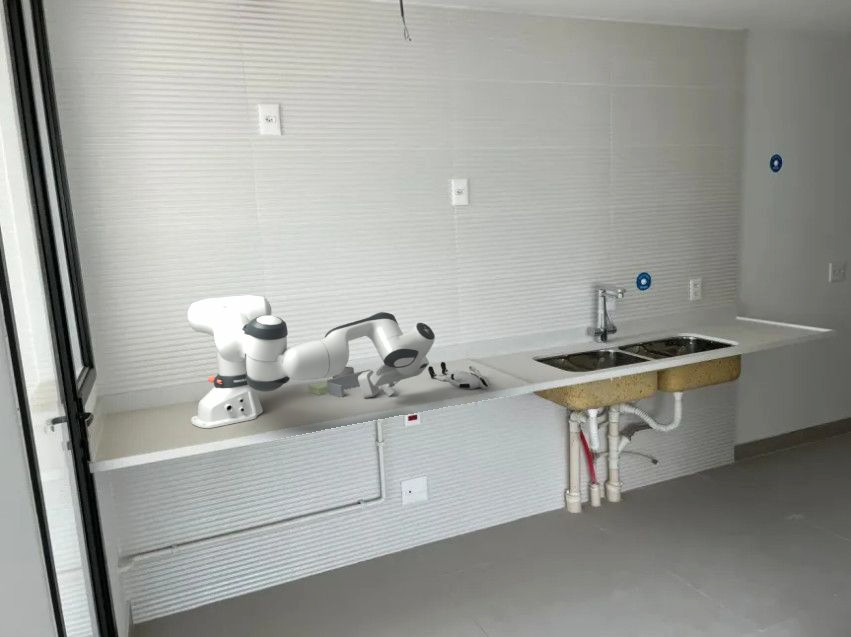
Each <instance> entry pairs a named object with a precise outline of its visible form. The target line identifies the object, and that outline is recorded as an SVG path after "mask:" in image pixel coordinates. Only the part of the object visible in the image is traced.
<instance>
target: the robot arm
mask: <svg viewBox="0 0 851 637" xmlns="http://www.w3.org/2000/svg"><path fill="white" fill-rule="evenodd" d="M272 313H273V312H272V307H271V304H270V302H269V300H268V299H266V297H265V296H262V295H253V294H246V295H245V294H244V295H237V296H236V295H233V296H224V297H213V298H212V297H211V298H204V299H201V300H199V301H195V302H193V303H192V304H191V305H190V307H189V308H188V310H187V321H188V324H189V326H190V327H191V329H192V330H194V332H196V333H203V334H207V335H210V336H212V337H213V341H214V345H215V348H216V360H217V371H218V373H217V375H216V376H213V375H209V376H208V378H207V381H208V382H209V383H212V384H213V385H214V386H213V387H212V388H211V389H210V390H209V392H207V393H206V394H205V395H204V396H203V397H202V398H201V399H200V401H199V402H198V406H197V415H194V416H192V417H191V419H190V422H191V424H192V425H194V426H196V427H198V428H200V429H202V428H203V429H212V428H216V427H217V428H219V427H222V426H226V425H227V426H228V425H231V424H232V425H233V424H235V423H241V422H247V421H251V420H256V419H257V417H258V416H259V415H260V414H262V413H263V412H264V409H263V407H262V404H261V401H260V398H259V395H258V392H265V393H266V392H272V391H275V390H278V388H281V387H282V386H283V385H285V384H287V383H288V382H289V381H290V379H291V380H294V381H295V380H297V381H312V380H313V381H314V380H322V379H330V378H333V376H336V375H338V374H340V373H341V372H342V371H343V370H344V369H345V367H347V365H348V363H349V358H350V346H349V342H350V341H353V340H355V339H359V338H363V337H367V338H368V339H370V341H371V342H372V344H373V346H374V347H375V349H376V351H377V353H378V355H379V357H380V358H381V360H382V362H383V364H382V365H381V364H380V365H379V366H378V367H377V368H376V369H375V370H374V371H373V372H374V373H373V374H372V375H371V377H370V380H371V382H372V384H373V385H374V386H375V387H377V386H378V387H380V385H384V384H385V385H386V387H387V388H388V387H395V386H396V384H398V383H399V382H400V381H404V380H406V379H409V378H413V377H418V376H420V375H421V374H422V373H423V372H424V370H425V369H426V368H427V367H429V365H430V361H429V359H428V358H427V355H428V353H429V352H430V350H431V348H432V347H433V345H434V343H435V338H436V335H435V333H434V331H433V330H432V328H431V327H430V326H429V325H428V324H426V323H423V322H417V323H416V324H415V325H413V327H412V328H411V329H410V330H409V331H408V332H406V333H403V331H402V329H401V328H400V326H399V323H398V321H397V319H396V316H395V315H394V314H393V313H389V312H386V311H385V312H384V311H380V312H377V313H375V314H372V315H371V316H369V317H366V318H362V319H358V320H355V321H352V322H349V323H346V324H342V325H339V326H336V327H333V328H332V329H330V330H328V331H327V332H326V334H325V335H324V338H321V339H317V340H310V341H306V342H300V343H297V344H294V345H291V346H289V347H288V339H287V336H288V325H287V323H286V321H284V320H283V318H281V317H278V316H275V315H272Z"/></svg>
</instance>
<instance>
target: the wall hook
mask: <svg viewBox="0 0 851 637" xmlns="http://www.w3.org/2000/svg"><path fill="white" fill-rule="evenodd" d="M370 370H371V371H367V372H363V373H362V374H361V375H359V376H358V381H359V385H360V386H359V387H360V390H361V394H362V397H363V399H370V398H372V397H375V396H376V395H377V394H378V393H379V391H380V389H379V387H380V388H381V389H382V391H384V394H386V395H387V397H391V395H393V394H394V393H395V392H396V389H395V388H394V386H392V387H388V388H387V387H386V385H385V384H384V385H380V386H377V387H375V386H374V385H373V384H372V382H371V380H370V377H371V375H372V374H373V373H374V371H373V369H370Z"/></svg>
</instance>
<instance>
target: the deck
mask: <svg viewBox="0 0 851 637" xmlns="http://www.w3.org/2000/svg"><path fill="white" fill-rule="evenodd" d="M371 370H372V369H366V370H365V369H364V370H361V371H357V372H355V368H354V367H352V366H346V367H345V369H344V370H343V371H342V372H341V373H340V374H338V375H336V376H333V377H331V378H327V379H326V380H325V381H322V382H319V383H318V382H317V383H313V384H310V385H308V392H309V393H310V392H311V393H312V394H314V395H316V396H322V395H327V394H329V395H332V396H336V397H338V396H339V398H341V397H342V398H345V393H344V392H345V390H344V389H346V390H348V388H349V389H352V388H351V387H353V388H356V387H355V386H357V387H360V386H359V381H358V376H359V375H361V374H362V373H363V372H367V371H371ZM326 393H327V394H326Z"/></svg>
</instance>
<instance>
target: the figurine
mask: <svg viewBox="0 0 851 637" xmlns="http://www.w3.org/2000/svg"><path fill="white" fill-rule="evenodd" d="M440 368H441V374H442V375H438V374H436V372H435V370H434V367H433V366H428V368H427V370H428V374H429V376H430V379H433V380H436V379H437V380H439V381H440V382H445V381H446V382H448V383H449V384H451V386H455V387H456V388H459V389H467V390H475V389H477V388H481V389H487V388H488V387H489V386H490V380H489V379H488V377H487V376H485V375H483V374H481V373H480V371H479V369H477V368H476V367H474V366H471V365H470V366H468V369H469V370H470V372H468V371H464V370H456V371H449V369H447V365H446V362H444V361H441V362H440Z"/></svg>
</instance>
